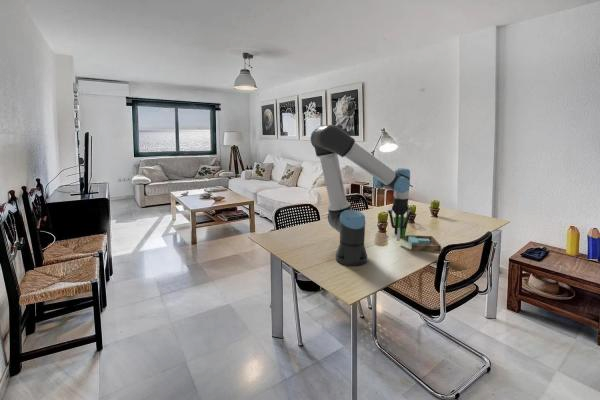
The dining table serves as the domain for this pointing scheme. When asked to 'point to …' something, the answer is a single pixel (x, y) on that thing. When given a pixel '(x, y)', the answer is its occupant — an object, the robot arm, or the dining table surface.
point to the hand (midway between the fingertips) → (397, 240)
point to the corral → (433, 247)
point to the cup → (399, 226)
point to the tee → (417, 241)
